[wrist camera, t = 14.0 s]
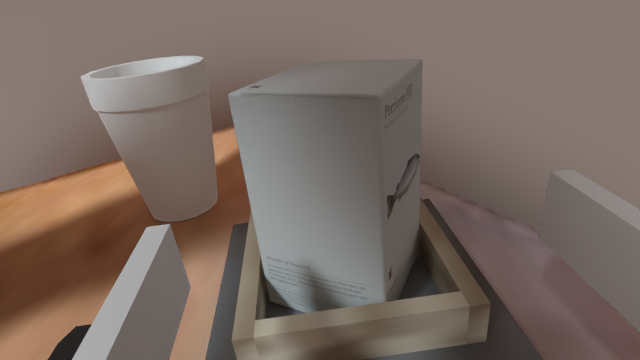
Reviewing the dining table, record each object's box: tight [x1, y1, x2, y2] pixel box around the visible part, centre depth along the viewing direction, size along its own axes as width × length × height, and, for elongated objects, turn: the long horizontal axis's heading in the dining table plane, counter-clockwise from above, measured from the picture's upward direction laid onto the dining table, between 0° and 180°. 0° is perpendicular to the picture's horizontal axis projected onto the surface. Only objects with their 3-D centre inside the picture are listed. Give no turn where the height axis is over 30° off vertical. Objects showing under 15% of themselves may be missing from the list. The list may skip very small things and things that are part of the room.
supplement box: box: [228, 59, 423, 313], centre depth 21 cm, size 7×7×13 cm
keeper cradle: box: [205, 198, 543, 360], centre depth 24 cm, size 16×16×4 cm
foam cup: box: [81, 56, 218, 222], centre depth 34 cm, size 10×9×13 cm
